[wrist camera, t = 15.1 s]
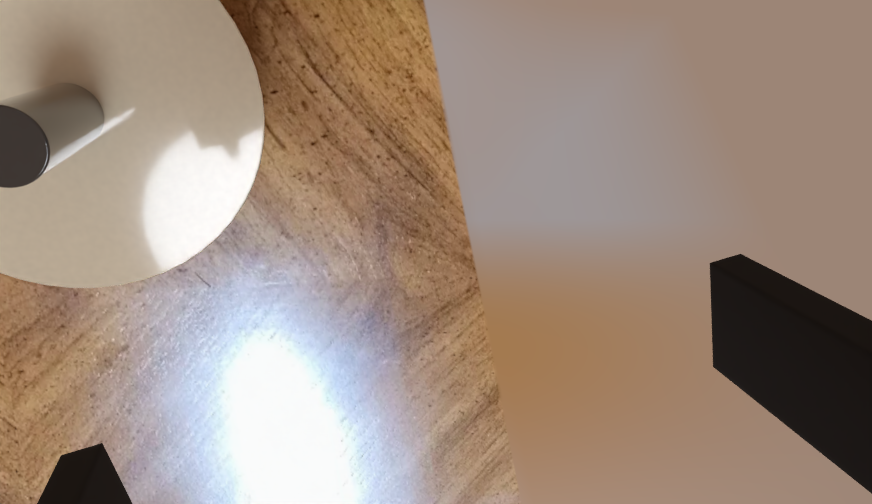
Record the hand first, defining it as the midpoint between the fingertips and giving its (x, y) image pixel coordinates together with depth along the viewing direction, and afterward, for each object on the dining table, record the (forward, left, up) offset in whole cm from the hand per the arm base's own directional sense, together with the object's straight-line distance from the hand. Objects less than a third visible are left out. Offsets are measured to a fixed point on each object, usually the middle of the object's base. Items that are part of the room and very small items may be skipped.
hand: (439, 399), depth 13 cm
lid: (+11, -6, -21) cm, 25 cm away
